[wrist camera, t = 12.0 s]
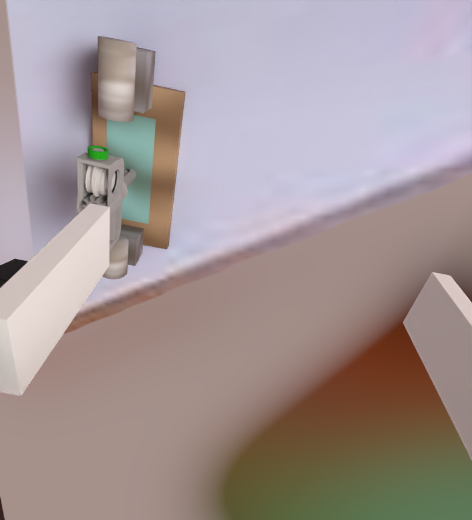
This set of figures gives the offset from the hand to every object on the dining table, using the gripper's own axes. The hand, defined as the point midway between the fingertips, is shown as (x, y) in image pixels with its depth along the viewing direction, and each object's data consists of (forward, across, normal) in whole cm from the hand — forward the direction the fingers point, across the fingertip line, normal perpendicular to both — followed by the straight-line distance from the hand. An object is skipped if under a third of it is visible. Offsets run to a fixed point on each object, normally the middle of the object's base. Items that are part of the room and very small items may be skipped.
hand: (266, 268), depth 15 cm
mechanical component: (+26, -14, -7) cm, 30 cm away
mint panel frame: (+27, -13, -7) cm, 31 cm away
